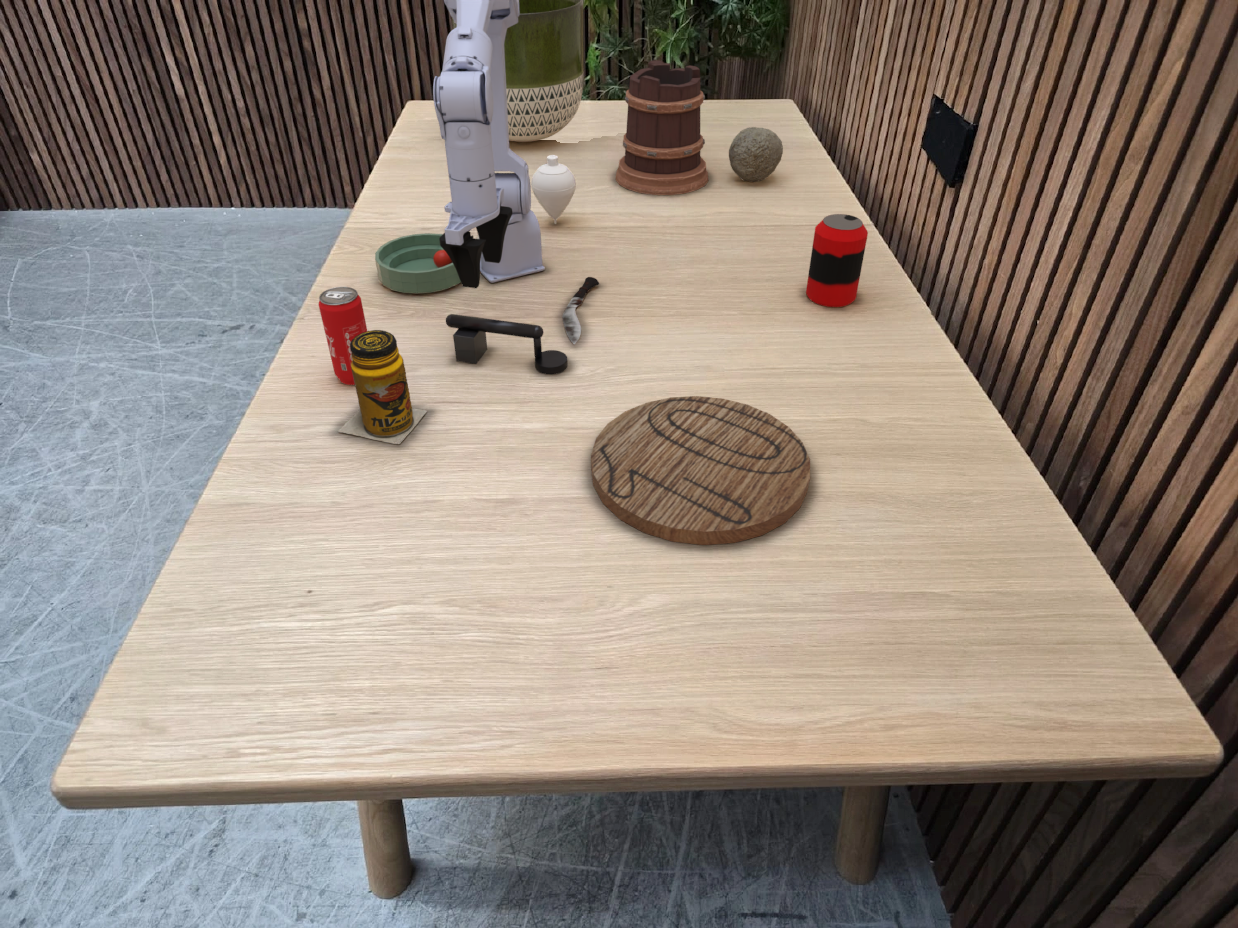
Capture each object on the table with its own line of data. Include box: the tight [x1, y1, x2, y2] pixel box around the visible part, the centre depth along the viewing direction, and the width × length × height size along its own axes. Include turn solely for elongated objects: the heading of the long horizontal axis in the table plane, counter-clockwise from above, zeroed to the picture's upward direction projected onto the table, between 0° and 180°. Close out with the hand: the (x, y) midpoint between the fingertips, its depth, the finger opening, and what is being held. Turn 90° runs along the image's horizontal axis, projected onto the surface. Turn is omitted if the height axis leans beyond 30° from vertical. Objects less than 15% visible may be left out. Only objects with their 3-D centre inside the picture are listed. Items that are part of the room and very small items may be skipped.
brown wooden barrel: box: [615, 59, 710, 196], centre depth 170 cm, size 18×23×20 cm
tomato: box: [433, 250, 452, 268], centre depth 142 cm, size 3×3×3 cm
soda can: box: [805, 213, 869, 308], centre depth 132 cm, size 8×8×12 cm
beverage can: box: [318, 286, 368, 386], centre depth 115 cm, size 5×5×12 cm
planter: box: [450, 0, 585, 143], centre depth 186 cm, size 27×27×27 cm
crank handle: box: [445, 313, 568, 376], centre depth 120 cm, size 17×4×6 cm, turn 76°
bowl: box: [374, 232, 461, 294], centre depth 140 cm, size 14×14×4 cm
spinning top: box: [530, 154, 577, 225], centre depth 154 cm, size 8×8×12 cm
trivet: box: [590, 395, 811, 546], centre depth 102 cm, size 25×25×2 cm
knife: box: [561, 276, 600, 346], centre depth 132 cm, size 18×1×5 cm
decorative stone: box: [728, 126, 784, 183], centre depth 171 cm, size 10×8×10 cm
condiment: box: [337, 329, 428, 445], centre depth 106 cm, size 7×8×12 cm
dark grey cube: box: [452, 328, 488, 365], centre depth 121 cm, size 3×4×4 cm
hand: (482, 273), depth 119 cm, fingers open, 7 cm apart
